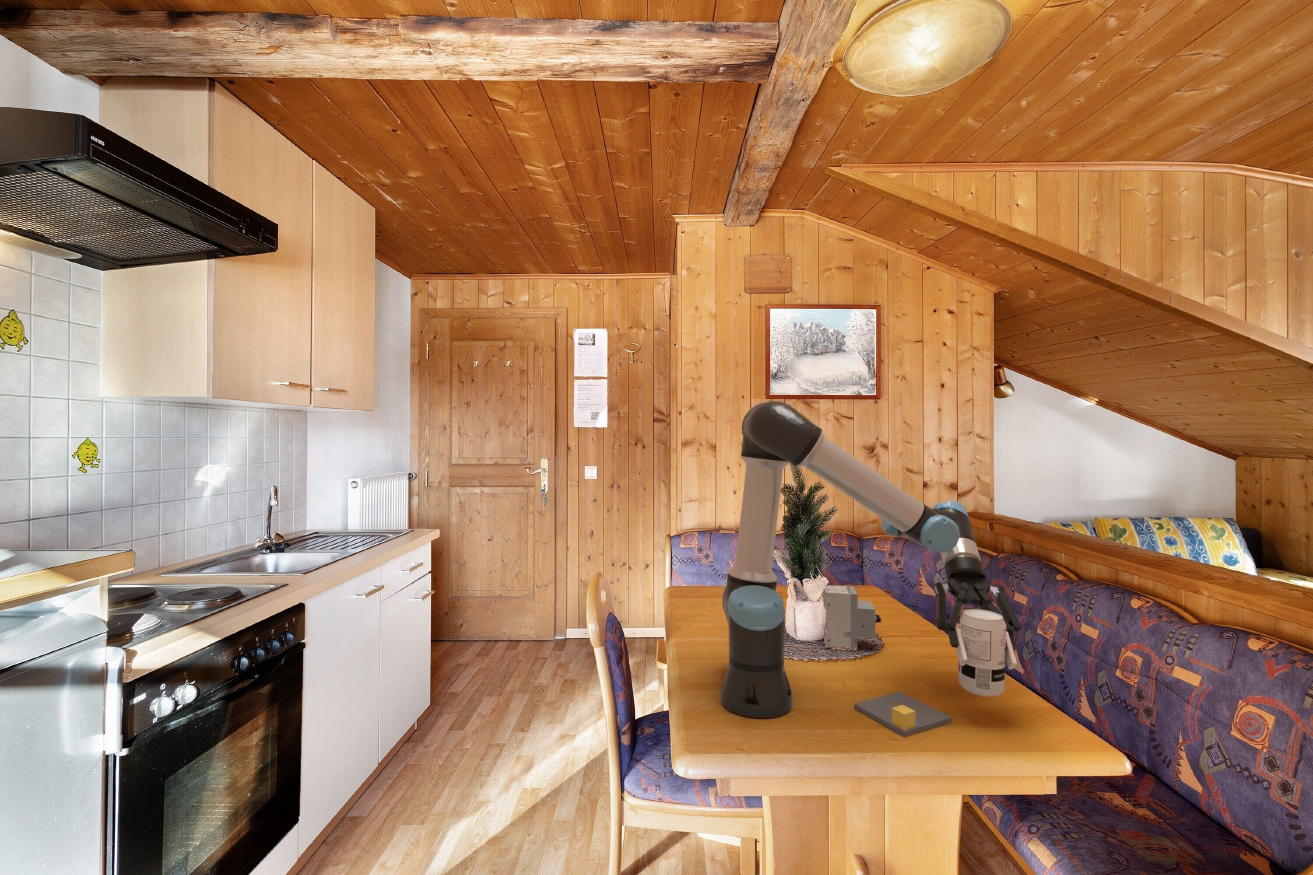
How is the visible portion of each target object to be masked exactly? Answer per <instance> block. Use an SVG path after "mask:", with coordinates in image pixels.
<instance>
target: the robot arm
mask: <svg viewBox="0 0 1313 875" xmlns="http://www.w3.org/2000/svg"><path fill="white" fill-rule="evenodd" d="M741 423H742V424H741V434H742V443H741V449H740V450H741V451H740V459H741V460H743V462H744V463H745V473H744V483H743V492H742V501H741V510H740V511H741V512H740V519H739V528H738V535H737V536H738V538H737V543H736V545H737V546H736V555H735V561H734V565H733V566H732V567H730V568H729V569H727V575H726V583H725V584H726V585H725V588H724V590H723V593H722V600H721V601H722V608H723V612H724V614H725V618H726V621H727V626H728V666H727V669H726V672H725V676H724V679H723V683H722V685H721V688H720V703H721V704H722V706H724V708H726V709H727V710H728V711H730V712H731V713H734V714H736V715H740V716H743V717H747V718H755V719H767V718H768V719H770V718H776V717H779V716H782V715H783V716H784V715H785V714H787V713H789V712H790V711H791V710H792V709H793V704H794V703H793V701H794V700H793V691H792V688H791V686H790V682H789V679H788V676H787V672H786V670H785V617H786V616H785V615H786V611H785V610H786V608H785V605H784V604H785V603H784V599H783V597H782V595H781V593H779V592H778V591H777V585H778V584H777V583H778V576H777V575H776V574H775V573H774V572H773V561H774V554H775V553H774V552H775V545H776V544H775V543H776V536H777V525H778V518H779V508H780V502H781V501H780V498H781V490H782V481H783V473H784V469H785V468H786V467H787V466H789V464H792V465H793V466H794V467H797V468H798V467H804V468H806V469H808V471H811V472H812V473H813V474H815V475H816V476H818V477H819V478H821V479H823V480H824V481H826V482H827V483H828V484H830V485H831V486H833V487H834V488H836V489H838V491H840V492H842V493H844V494H845V495H846V496H848V497H849V498H851V499H852V500H854V501H855V502H857V503H858V504H860V505H861V506H863V507H864V508H866V509H867V510H868V511H870V512H872V513H873V514H874V515H876V516H878V517H879V518H881V528H882V531H883V532H884V534H886V535H888V536H893V537H896V538H904V539H908V540H910V541H911V542H912V543H915V544H918V545H920V546H922V547H924V548H925V549H926V550H928V551H930V552H936V553H940V554H941V558H942V559H941V560H942V563H943V566H944V572H945V576H946V581H947V583H944V584H943V583H941V582H939V581H938V582H936V584H935V586H934V588H933V591H934V594H935V597H936V628H937V630H939V631H945V634H946V635H947V636H948V639H949V644H950V646H951V648H954V649H956V652H957V653H956V654H957V659H958V664H959V663H960V666H964V665H965V663H966V662H967V660H968V659H967V655H966V651H965V646H964V642H963V638H962V634H961V629H959V627H958V628H956V626H957V624H958V621H959V618H960V613H961V610H962V606H963V605H974V606H978V607H979V608H980V610H986V611H991V612H995V613H998V614H1000V615H1001V616H1003V620H1004V622H1005V623H1006V652H1005V663H1006V665H1007V668H1008V670H1013V669H1014V668H1016V666H1017V664H1018V663H1017V659H1016V655H1015V651H1017V643H1016V639H1015V636H1018V635H1019V633H1020V631H1021V630H1022V629H1023V627H1022V625H1021V623H1020V621H1019V619H1018V616H1017V615H1016V613H1015V612H1014V609H1013V607H1012V605H1011V604H1010V602H1009V599H1008V598H1007V596H1006V588H1005V586H1004V585H998V587H996V586H991V585H990V584H989V583H988V582H987V581H988V580H986V573H985V571H984V567H983V563H982V562H981V556H980V553H979V549H978V547H977V546H978V545H977V543H976V540H975V535H974V532H973V528H972V524H971V518H970V517H969V514H968V511H967V510H966V507H965V506H964V505H963V504H962V503H961V502H959V501H955V500H948V501H939V502H938V503H936V504H935V505H934V506H933V507H932V508H931V507H929V506H928V505H926V504H925V503H923V502H922V501H921V500H919V499H917V498H916V497H914V496H913V495H912V494H910V493H909V492H908V491H905V489H903V488H901V487H900V486H898V485H897V484H895V483H894V482H893V481H890V480H889V478H887V477H885V476H884V475H882V474H880V473H879V472H877V471H876V470H875V469H873V468H872V467H870V466H869V465H867V464H866V463H865V462H863V461H861V460H860V459H858V458H856V457H855V456H854V455H852V454H850V453H849V452H848V451H846V450H844V449H843V448H842V447H840V446H838V445H837V444H836V443H835V442H833V441H831V440H830V439H828V438H826V437H825V434H824V430H823V428H821V427H819V426H818V425H816V423H813V422H812V421H811V420H810V419H808V418H807V417H806V416H804V415H803V414H802V413H801V412H799V411H798V410H797V409H795V408H794V407H793V406H792V405H790V404H788V403H786V402H783V401H780V400H771V401H766V402H761V403H758V404H756V405H754V406H753V407H751V408H750V409H749V410H748V411H747V412H746V414H745V415H744V417H743V419H742V422H741ZM948 592H949V593H950V594H951V595H952V596H953V597H954V598H955V600H954V603H953V607H952V612H951V614H950V617H949V621H946V619H947V616H946V615H947V614H946V611H947V608H946V598H947V597H946V595H947V593H948ZM989 593H990V594H991V595H992V598H993V599H995V601H996V605H997V606H998V608H999V609H998V608H997V607H996V606H995V604H994V603H993V602H992V599H991V598H990V596H989V595H988V594H989ZM999 610H1000V611H999Z"/></svg>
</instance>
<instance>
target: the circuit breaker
mask: <svg viewBox="0 0 1313 875" xmlns="http://www.w3.org/2000/svg"><path fill="white" fill-rule="evenodd" d="M825 586H826V587H825V589H824V588H823V592H822V601H823V609H825V610H826V623H825V625H824V641H823V644H824V643H825V646H834V647H849V648H857V649H858V638H869V639H876V624H877V623H880V624H881V623H882V618H881V616H880V614H876V609H875V607H874V605H873V603H872V601H870V600H858V592H857V591H856V588H855V586H849V585H848V586H845V585H825ZM825 646H824V647H825Z"/></svg>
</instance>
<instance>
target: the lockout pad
mask: <svg viewBox="0 0 1313 875" xmlns="http://www.w3.org/2000/svg"><path fill="white" fill-rule="evenodd" d="M853 704H854V710H856V711H858V712H860V713H862V714H864V715H865V716H867V717H869V718H870V719H872V720H874V721H875V720H876V722H877V723H879V724H881V725H882V724H883V726H885V727H886V728H887V727H888V729H889V730H891V731H893V732H894V731H895V732H894V733H897V735H899V736H901V735H902V736H901V737H903V738H906V736H907V737H909V735H910V736H912V734H913V735H916V734H920V733H922V732H925V731H928V730H931V729H935V728H938V727H941V726H944V725H948V724H951V723H952V722H953V717H952V716H951V715H948V714H946V713H944V712H942V711H940V710H938V709H937V708H934V707H932V706H930V705H928V704H925V703H924V702H922V701H920V700H917V699H915V698H913V697H912V696H909V695H907V694H905V693H904V692H901V691H897V692H896V691H895V692H893V693H889V694H885V695H882V696H877V697H874V698H871V699H866V700H862V701H858V702H855V703H853Z"/></svg>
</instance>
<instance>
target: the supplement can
mask: <svg viewBox="0 0 1313 875" xmlns="http://www.w3.org/2000/svg"><path fill="white" fill-rule="evenodd" d="M1001 615H1002V614H1001ZM1001 615H1000V614H998V613H995V612H991V611H986V610H983V609H978V608H971V609H970V608H968V609H965V610H964V609H963V612H962V614H961V616H959V626H958V628H959V629H961V634H962V638H963V642H964V646H965V651H966V655H967V659H968V660H967V662H966V663H965V665H964V666H960V663H959V662H958V666H957V667H958V669H957V670H958V671H957V672H958V674H957V682H958V684H959V685H960V686H961V687H962V689H964V690H965V691H967V692H969V693H971V694H975V695H978V696H983V697H997V696H1000V695H1001V694H1002V693H1004V692H1005V687H1006V686H1005V684H1006V679H1005V677H1006V659H1005V652H1006V623H1005V622H1004V620H1003V617H1004V616H1003V615H1002V616H1001Z"/></svg>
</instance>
